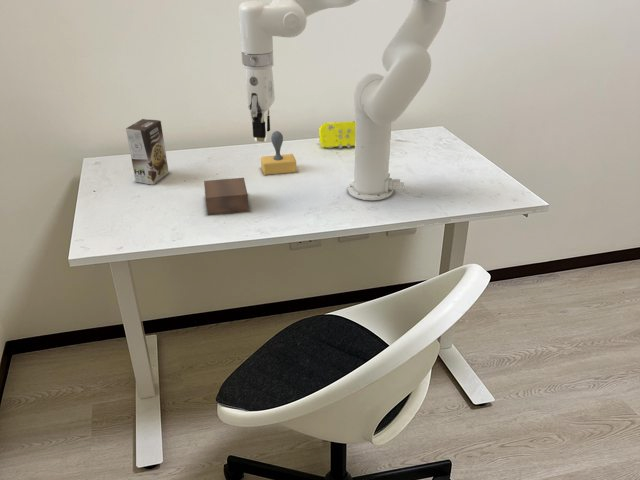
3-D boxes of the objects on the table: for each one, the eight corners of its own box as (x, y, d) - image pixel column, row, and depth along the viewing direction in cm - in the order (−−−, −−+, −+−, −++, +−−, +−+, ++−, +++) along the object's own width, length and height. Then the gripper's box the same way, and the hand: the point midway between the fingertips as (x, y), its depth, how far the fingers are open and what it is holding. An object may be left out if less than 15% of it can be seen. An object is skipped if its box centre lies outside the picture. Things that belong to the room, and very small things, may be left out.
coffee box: (154, 185, 181) (144, 130, 171) (134, 182, 183) (124, 128, 173) (170, 173, 188) (161, 120, 178) (151, 170, 189) (142, 117, 180)
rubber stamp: (264, 175, 186) (261, 136, 179) (261, 168, 190) (258, 129, 183) (296, 172, 188) (295, 133, 180) (293, 165, 192) (291, 126, 185)
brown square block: (245, 194, 176) (243, 177, 173) (249, 211, 167) (247, 194, 164) (206, 197, 174) (203, 180, 171) (207, 215, 165) (205, 197, 162)
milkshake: (269, 144, 159) (267, 104, 153) (249, 142, 160) (246, 103, 154) (274, 137, 162) (272, 98, 156) (254, 136, 163) (252, 97, 157)
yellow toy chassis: (321, 150, 202) (321, 124, 197) (319, 143, 206) (319, 118, 202) (369, 147, 203) (370, 122, 198) (366, 141, 208) (367, 116, 203)
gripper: (264, 68, 142) (268, 146, 153) (280, 51, 155) (282, 124, 166) (232, 67, 143) (239, 144, 154) (251, 50, 156) (255, 122, 167)
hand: (261, 133), depth 160 cm, fingers closed on milkshake, 4 cm apart
